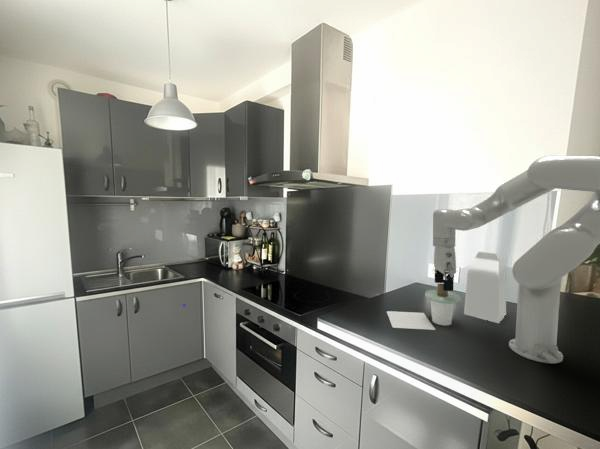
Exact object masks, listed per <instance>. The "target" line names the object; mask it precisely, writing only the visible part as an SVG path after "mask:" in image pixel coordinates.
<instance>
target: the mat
mask: <svg viewBox="0 0 600 449" xmlns="http://www.w3.org/2000/svg"><path fill="white" fill-rule="evenodd" d="M386 315H387V316H388V319H389V322H390V324H391V327H392V328H395V329H410V330H411V329H413V330H426V331H427V330H430V331H436V328H435V327H434V325H433V323H432V322H431V321H430V320H429V318H428V317H427V316H426V314H425V312H414V311H413V312H412V311H410V312H409V311H395V310H394V311H393V310H390V311H386Z"/></svg>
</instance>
